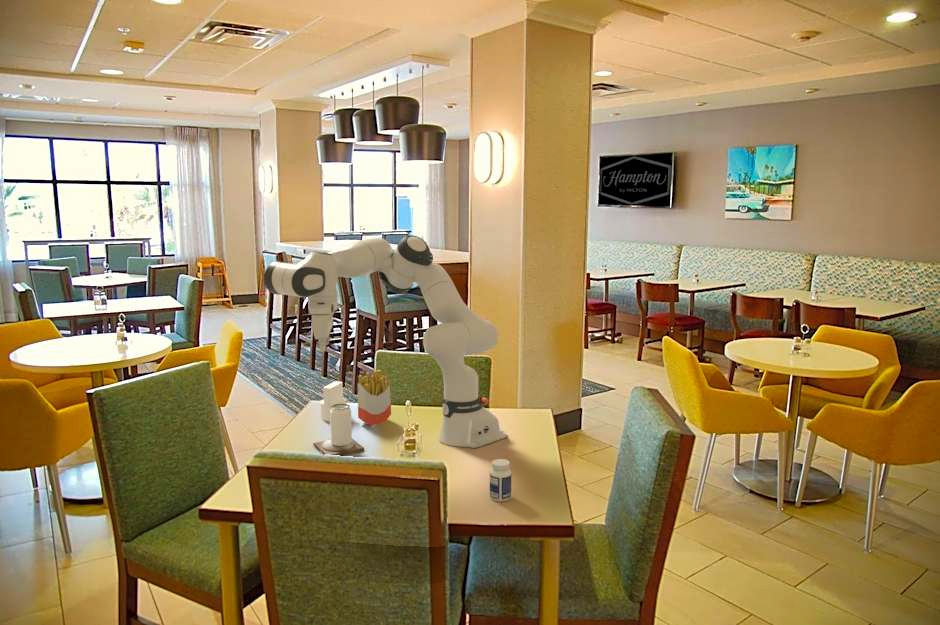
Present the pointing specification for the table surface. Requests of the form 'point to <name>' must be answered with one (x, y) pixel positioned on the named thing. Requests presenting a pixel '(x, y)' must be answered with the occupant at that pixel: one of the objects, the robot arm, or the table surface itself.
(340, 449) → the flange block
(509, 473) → the pill bottle
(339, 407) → the can
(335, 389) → the base with upright slab
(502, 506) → the table surface
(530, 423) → the table surface
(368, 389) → the french fries container
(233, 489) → the table surface
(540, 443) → the table surface
